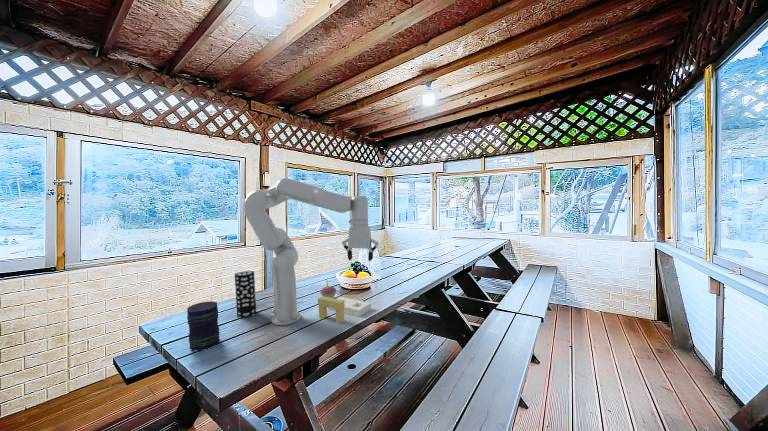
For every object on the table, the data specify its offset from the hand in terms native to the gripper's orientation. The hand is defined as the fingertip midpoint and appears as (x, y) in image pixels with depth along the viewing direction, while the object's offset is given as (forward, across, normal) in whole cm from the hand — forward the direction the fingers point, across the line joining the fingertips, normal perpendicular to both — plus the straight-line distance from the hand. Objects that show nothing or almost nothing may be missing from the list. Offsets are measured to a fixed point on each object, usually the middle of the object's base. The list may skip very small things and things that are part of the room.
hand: (360, 260), depth 131 cm
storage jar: (+27, -51, -36) cm, 68 cm away
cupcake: (+26, -23, +16) cm, 38 cm away
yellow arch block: (+26, -12, -7) cm, 29 cm away
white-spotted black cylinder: (+27, -54, -9) cm, 61 cm away
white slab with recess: (+26, -8, +5) cm, 27 cm away
